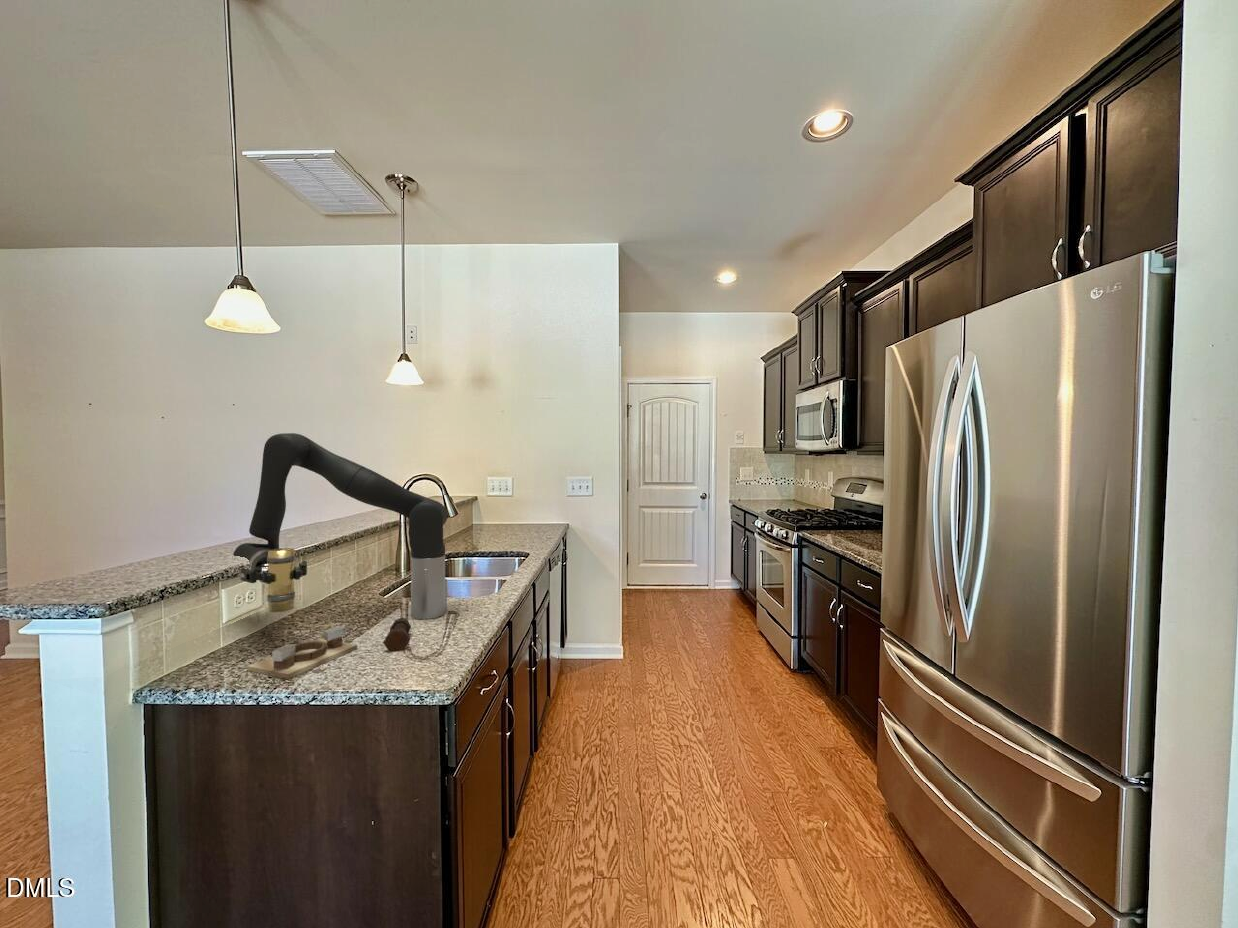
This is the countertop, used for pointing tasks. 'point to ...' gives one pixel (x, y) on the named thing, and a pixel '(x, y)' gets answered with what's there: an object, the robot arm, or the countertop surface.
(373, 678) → the countertop surface
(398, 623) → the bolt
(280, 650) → the pair of grey blocks
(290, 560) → the cylinder
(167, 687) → the countertop surface
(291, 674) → the coupling base
